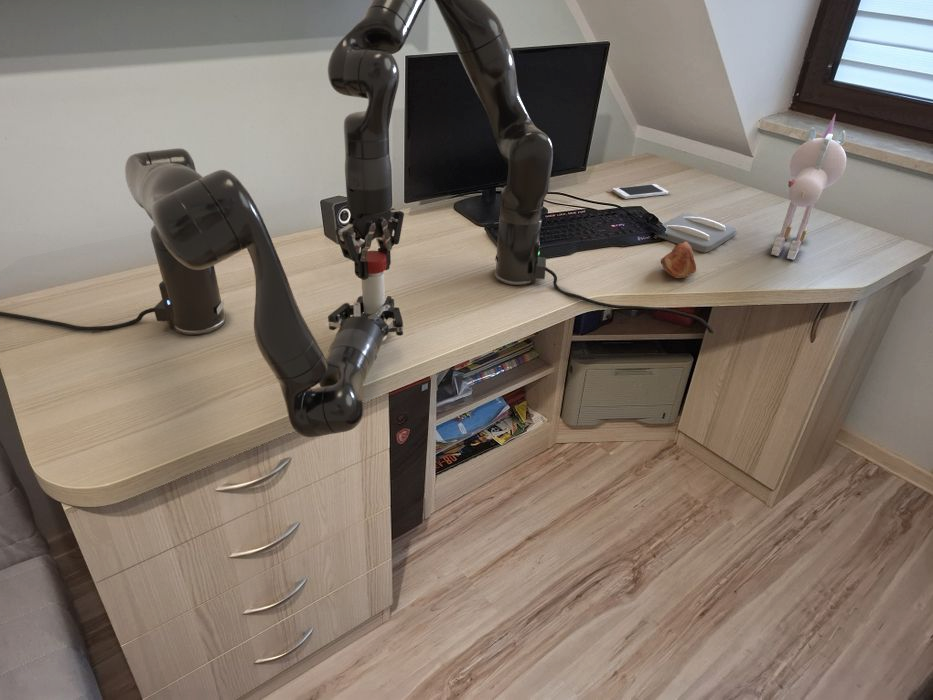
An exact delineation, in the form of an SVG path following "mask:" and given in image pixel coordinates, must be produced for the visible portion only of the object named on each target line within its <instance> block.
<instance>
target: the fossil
mask: <svg viewBox="0 0 933 700" xmlns="http://www.w3.org/2000/svg"><path fill="white" fill-rule="evenodd" d="M660 264H661V265H662V267H663V269H664V270H665V272H667V274H669V275H671V277H673V278H675V279H684V278H687V277H689V276H690V275H693V274H695V272H697V264H696V260H695V257H694V252H693V249H692V248H691V246H690V245H689V243H688V242H687V241H685V242H684V243H681V244H676V245H675V246H674V247H673V248H672V250H671V251H670V252H668V253H667V254H666V255H664V256H663V257H662V258H661V259H660Z"/></svg>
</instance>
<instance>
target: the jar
mask: <svg viewBox="0 0 933 700" xmlns="http://www.w3.org/2000/svg"><path fill="white" fill-rule="evenodd" d="M360 280H361V292H362V293H361V296H362V295H363V310H364V312H363V313H367V314H373V313H374V312H375V311H376V310H377V309H381V308H382V307H383V306H384V303H385V300H386V295H385V294H386V290H385V271H383V272H381V273H377V274H369V273H368V279H365V280H362V279H360ZM387 337H388V334H387V335H386V336H385V337H384V338H383V340H382V342H384V341H385V340H386V339H387Z"/></svg>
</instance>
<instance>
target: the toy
mask: <svg viewBox="0 0 933 700" xmlns="http://www.w3.org/2000/svg"><path fill="white" fill-rule="evenodd" d="M836 116H837V115H836V112H835V113H834V115H833V116H832V119H831V120H830V122H829V124H828V126H827V128H826V130H825V131H824V133H823V134H822V136H821V137H817V138H816V136H817V128H815V127H810V129H809V130H808V133H807V135H806V136H805V142H804V143H802V144H801V145H800V146H798V148H797V149H796V150H795V151H794V152H793V154H792V156H791V159H790V162H789V173H790V175H791V178H792V180H789V181H788V188H789V189H788V198H789V201H790V202H789V205H788V209H787V212H786V215H785V218H784V221H783V223H782V227H781V230H780V233H779V235H777V236H776V239H775V241H774V243H773V246H772V249H771V253H770V255H772V256H776V257H779V255H780V253H781V252H782V249H783V248H784V246H785V242H786V240H789V238H790V234H791V232H792V227H793V225H792V223H793V219H794V217H795V213H796V211H797V208H798V207H801V208H802V207H804V208H805V210H804V213H803V216H802V219H801V222H800V225H799V227H798V230H797V233H796V237H795V239H793V240H792V242H791V245H790V247H789V250H788V253H787V256H786V259H788V260H792V261H794V260H795V259H796V257H797V255H798V253H799V251H800V249H801V245H802V244H803V243H804V240H805V238H806V235H807V231H808V228H807V227H808V224H809V221H810V218H811V215H812V212H813V209H814V207H815V204H816V202H817V201H818V200H819V199H820V197H821V195H822V193H823V191H824V189H827V188H828V187H831V186H832V185H834V184H835V183H836V182H837V181H838V180H840V178H841V177H842V176H843V174H844V173H845V170H846V168H847V167H846V166H847V154H846V152H845V150H844V148H843V145H844V143H845V141H846V140H847V134H846V131H845V130H840V131H839V132H838V133H837V135H836V137H835V139H833V129H834V125H835V120H836ZM841 135H842V138H841V141H840V137H841Z"/></svg>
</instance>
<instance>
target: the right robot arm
mask: <svg viewBox="0 0 933 700" xmlns="http://www.w3.org/2000/svg"><path fill="white" fill-rule="evenodd" d="M426 1H427V0H371V2H370V3H369V5H368V8H367V10H366V12H365V13H364V15H363V18H361V20H360V21H359V22H357V23H356V24H355V25H354V26H353V27H352V28H351V29H350V30H349V31H348V32H347V33H346V34H345V35H344V37H343V38H341V39H340V41H339V42H338V43H337V45H336V46H335V47H334V48H333V50H332V52H331V54H330V57H329V59H328V65H327V77H328V81H329V83H330V86H331V87H332V89H333V90H334V91H336V92H337V93H338V94H340V95H342V96H346V97H353V98H360V99H367V100H368V101H367V102H368V103H367V107H366V109H365V110H363V111H355V112H351V113H349V114H348V115H346V116H345V118H344V121H343V138H344V153H345V155H344V177H345V190H346V205H347V206H346V207H347V208H348V211H349V215H350V216H349V219H348V223H347V225H345V226H344V227H337V228H336V229H335V235H336V238H337V241H338V244H339V247H340V250H341V253H342V256H343V257H344V258H346V259H348V260H350V261H352V262H353V265H354V274H355V276H356V277H357V279H360V280H361V279H362V280H365V279H368V269H367V260H366V257H367V252H368V251H369V249H371V247H372V241H374V240H375V241H376V245H377V246H378V248H377V251H380V252H383V253H385V255H386V258H387V268H386V270H385V271H388V270H389V269H390V266H391V264H392V259H391V251H392V249H393V246H394V245H398V244H399V243H400V239H401V234H402V228H403V223H404V217H405V212H404V211H401V210H399V209H396V208H394V207H393V174H392V173H393V171H392V162H391V161H392V160H391V155H390V123H391V118H392V113H393V109H394V103H395V99H396V95H397V91H398V88H399V87H398V86H399V82H400V70H399V66H398V65H399V64H398V62H397V60H396V58H395V57H394V54H396V53H398V52H400V51H401V50H402V48H403V47H404V45H405V43H406V41H407V39H408V38H409V35H410V34H411V31H412V29H413V27H414V24H415V23H416V21H417V18H418V16H419V15H420V12H421V11H422V8H423V6H424V4H425V3H426ZM434 2H435V4H436V6H437V8H438V11H439V14H440V15H441V17H442V20H443V22H444V23H445V26H446V28H447V30H448V32H449V35H450V37H451V40H452V42H453V45H454V47H455V50H456V52H457V55H458V57H459V59H460V62H461V64H462V66H463V68H464V70H465V72H466V74H467V77H468V78H469V80H470V83H471V84H472V87H473V89H474V91H475V93H476V94H477V96H478V99H479V100H480V102H481V103H482V105H483V107H484V110H485V111H486V114H487V116H488V119H489V122H490V125H491V129H492V132H493V136H494V138H495V141H496V145H497V148H498V151H499V153H500V156H501V158H502V160H503V161H504V162H505V163H506V165H508V167H507V168H508V169H507V179H506V185H505V186H504V187H503V188H502V189H501V191H500V198H499V211H498V228H497V244H496V255H495V258H494V262H495V270H494V277H495V278H496V280H498V281H499V282H502V283H503V284H508V285H510V286H525V285H530V284H537V280H545V279H546V278H545V277H546V272H547V273H549V275H551V276H552V277H553V282H552V284H553V287H554V288H555V290H556V291H557V292H559V293H560V294H563V295H565V296H567V297H570V298H574V299H575V298H576V299H578V300H581V301H584V302H587V303H590V304H593V305H596V306H600V307H604V308H611V309H618V310H641V311H651V312H662V313H670V314H673V315H678V316H681V317H685V318H689V319H692V320H694V321H697V322H699V323H700V324H702V326H703V327H705V328H706V330H707V331H708V332H709V333H710V334H714V331H713V329H712V327H711V325H709V323H707V322H706V321H705V319H703V318H702V317H699V316H696V315H694V314H691V313H686V312H682V311H680V310H675V309H671V308H665V307H656V306H655V307H654V306H643V305H624V304H623V305H621V304H611V303H606V302H601V301H598V300H594V299H591V298H587V297H585V296H582V295H580V294H576V293H571V292H568V291H565V290H563V289H561V288H560V287H559V285H558V284H557V283H558V276H557V274H556V273H555V271H553V270H551V269H550V268H548V267H547V257H544V256H540V246H541V244H540V243H541V231H542V222H543V221H542V220H543V213H544V212H543V211H544V201H545V198H546V197H547V195H548V192H549V188H550V181H551V174H552V168H553V161H554V146H553V143H552V140H551V138H550V137H549V135H547V134H546V133H545V132H544V131H542V130H541V129H539V128H538V127H537V126H536V125H535V124H534V122H533V121H532V119H531V117H530V115H529V113H528V111H527V109H526V107H525V105H524V103H523V100H522V98H521V95H520V92H519V87H518V82H517V81H518V80H517V71H516V64H515V58H514V54H513V51H512V48H511V45H510V42H509V40H508V37H507V35H506V32H505V29H504V26H503V24H502V22H501V20H500V18H499V16H498V15H497V14H496V13H495V11H494V10H493V9H492V8H491V7H490V6H489V5H488V4H487V3H486V2H485V1H484V0H434ZM362 280H361V281H362Z"/></svg>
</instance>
